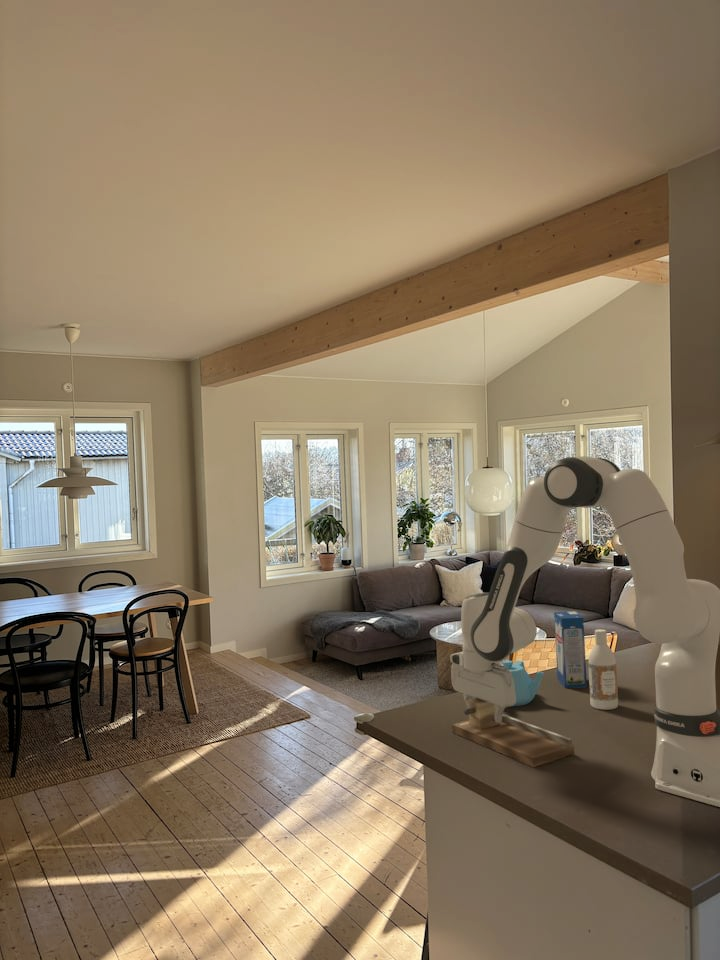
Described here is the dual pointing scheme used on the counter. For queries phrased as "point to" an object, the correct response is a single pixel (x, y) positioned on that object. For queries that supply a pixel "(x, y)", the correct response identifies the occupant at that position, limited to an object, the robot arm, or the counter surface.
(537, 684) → the teapot
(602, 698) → the bath foam
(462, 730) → the walnut board
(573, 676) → the milk carton
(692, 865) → the counter surface
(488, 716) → the wooden block with pegs
